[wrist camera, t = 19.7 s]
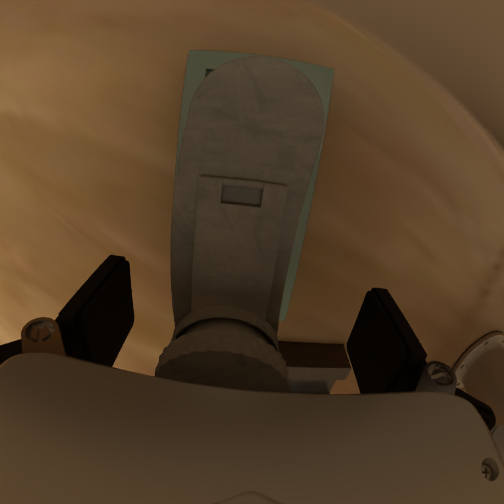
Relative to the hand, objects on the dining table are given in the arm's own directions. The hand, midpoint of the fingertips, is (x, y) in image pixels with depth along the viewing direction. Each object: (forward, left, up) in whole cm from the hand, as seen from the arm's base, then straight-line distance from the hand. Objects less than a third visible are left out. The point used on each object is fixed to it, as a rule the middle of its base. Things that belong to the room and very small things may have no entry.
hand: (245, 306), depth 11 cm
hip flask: (+1, 0, -16) cm, 16 cm away
